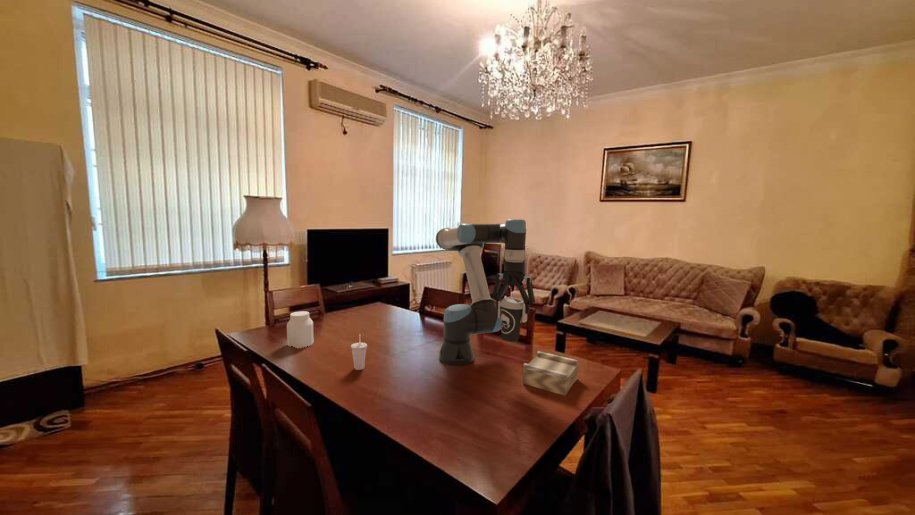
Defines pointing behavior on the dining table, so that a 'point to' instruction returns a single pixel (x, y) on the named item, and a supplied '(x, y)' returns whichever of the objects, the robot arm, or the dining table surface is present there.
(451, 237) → the robot arm
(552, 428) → the dining table surface
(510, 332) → the coffee cup
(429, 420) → the dining table surface
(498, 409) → the dining table surface
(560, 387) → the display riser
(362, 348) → the smoothie
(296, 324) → the jar
